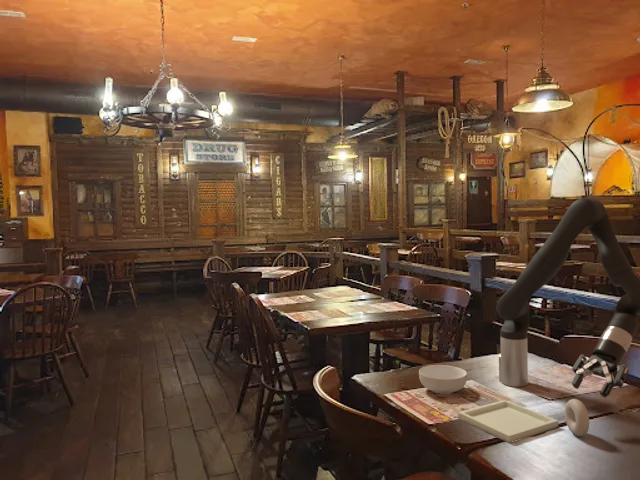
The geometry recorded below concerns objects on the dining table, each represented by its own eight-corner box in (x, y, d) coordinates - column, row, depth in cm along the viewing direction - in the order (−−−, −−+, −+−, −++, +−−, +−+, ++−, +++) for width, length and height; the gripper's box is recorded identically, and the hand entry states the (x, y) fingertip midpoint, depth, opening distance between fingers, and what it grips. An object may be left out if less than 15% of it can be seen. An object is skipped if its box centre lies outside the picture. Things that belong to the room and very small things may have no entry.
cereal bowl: (448, 402, 171) (448, 382, 171) (409, 391, 184) (409, 371, 183) (476, 390, 182) (476, 370, 182) (437, 379, 195) (437, 361, 194)
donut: (592, 442, 138) (591, 406, 138) (579, 442, 138) (578, 406, 138) (574, 427, 148) (574, 393, 148) (562, 427, 148) (562, 393, 148)
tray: (458, 418, 157) (458, 412, 157) (504, 405, 166) (504, 399, 166) (509, 443, 140) (509, 436, 140) (558, 427, 149) (558, 420, 149)
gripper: (584, 333, 155) (559, 377, 150) (631, 342, 142) (606, 391, 137) (595, 348, 157) (572, 391, 153) (643, 358, 145) (618, 406, 140)
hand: (588, 391), depth 145 cm, fingers open, 8 cm apart
